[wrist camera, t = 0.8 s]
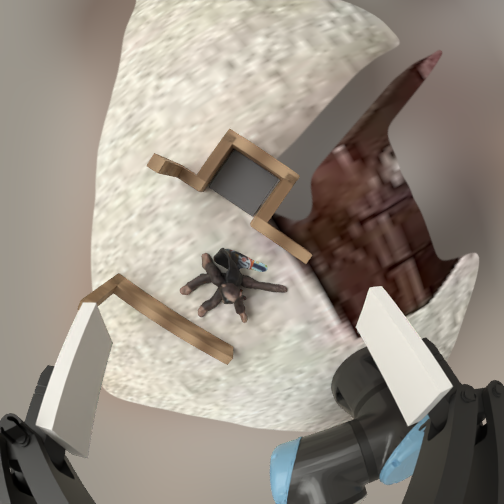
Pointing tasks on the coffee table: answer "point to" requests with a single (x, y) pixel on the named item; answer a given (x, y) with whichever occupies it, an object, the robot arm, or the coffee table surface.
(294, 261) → the coffee table surface
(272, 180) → the mat
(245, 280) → the stuffed animal
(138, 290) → the wooden rail pieces
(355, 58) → the coffee table surface
